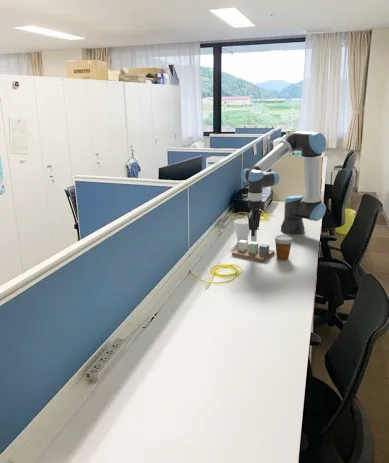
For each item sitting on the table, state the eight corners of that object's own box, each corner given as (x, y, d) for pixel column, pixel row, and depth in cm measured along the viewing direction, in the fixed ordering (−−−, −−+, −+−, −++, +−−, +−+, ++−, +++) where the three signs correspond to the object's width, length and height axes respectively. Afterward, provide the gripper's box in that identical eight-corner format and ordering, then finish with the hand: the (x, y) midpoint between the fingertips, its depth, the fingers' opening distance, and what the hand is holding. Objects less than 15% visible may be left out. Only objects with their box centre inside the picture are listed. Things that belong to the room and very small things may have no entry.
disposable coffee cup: (290, 255, 228) (291, 234, 224) (292, 261, 219) (293, 240, 215) (272, 255, 229) (273, 234, 225) (274, 261, 220) (275, 240, 216)
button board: (244, 247, 241) (244, 244, 240) (274, 253, 231) (274, 250, 230) (231, 255, 229) (231, 252, 228) (263, 262, 219) (263, 259, 218)
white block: (241, 247, 235) (241, 239, 234) (247, 249, 233) (248, 240, 232) (238, 249, 232) (238, 241, 231) (244, 251, 230) (244, 242, 228)
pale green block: (251, 249, 232) (252, 241, 230) (258, 251, 230) (258, 242, 228) (248, 252, 229) (248, 243, 227) (255, 253, 227) (255, 245, 225)
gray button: (262, 252, 228) (262, 243, 227) (268, 253, 226) (269, 245, 225) (259, 254, 225) (259, 245, 224) (265, 255, 223) (266, 247, 221)
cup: (250, 239, 253) (251, 218, 249) (251, 245, 243) (252, 224, 239) (233, 239, 254) (234, 218, 250) (233, 245, 244) (234, 223, 240)
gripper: (254, 196, 227) (252, 236, 234) (243, 201, 217) (242, 243, 224) (266, 198, 223) (264, 239, 230) (256, 203, 213) (254, 245, 220)
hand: (253, 241), depth 227 cm, fingers closed
